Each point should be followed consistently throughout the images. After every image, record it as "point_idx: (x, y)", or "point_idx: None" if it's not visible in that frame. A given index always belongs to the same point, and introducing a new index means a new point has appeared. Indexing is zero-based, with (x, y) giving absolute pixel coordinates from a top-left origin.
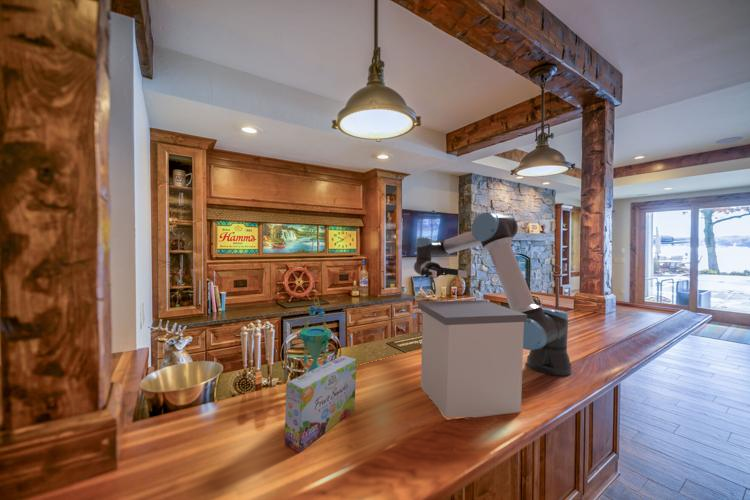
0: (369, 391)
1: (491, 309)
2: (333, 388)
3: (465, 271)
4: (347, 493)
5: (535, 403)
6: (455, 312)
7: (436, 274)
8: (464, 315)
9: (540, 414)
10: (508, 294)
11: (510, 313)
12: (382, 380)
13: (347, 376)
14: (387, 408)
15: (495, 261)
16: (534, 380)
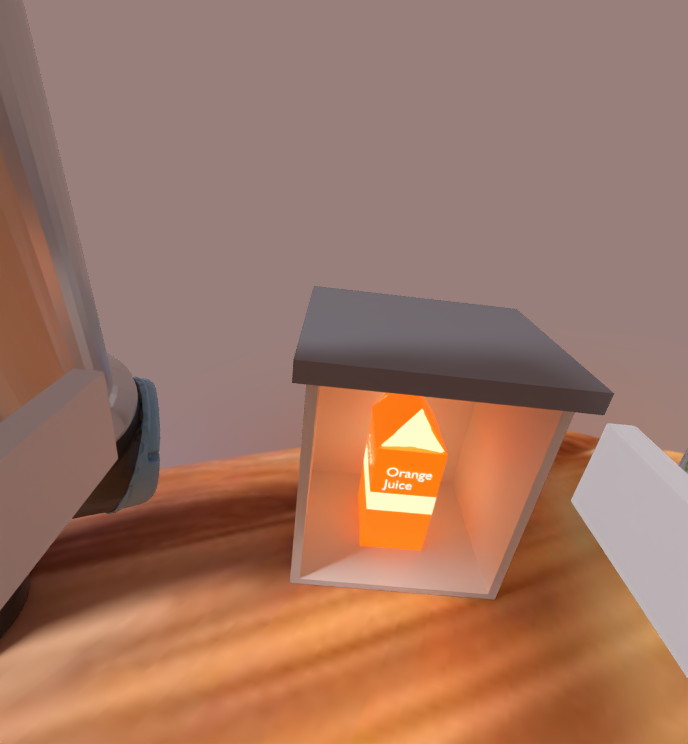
0: (643, 612)
1: (369, 311)
2: (686, 454)
3: (103, 376)
4: (579, 433)
5: (249, 479)
6: (485, 317)
7: (592, 462)
8: (469, 307)
9: (275, 458)
10: (97, 348)
11: (346, 294)
12: (629, 672)
13: (683, 467)
14: (572, 536)
15: (42, 135)
16: (126, 551)
